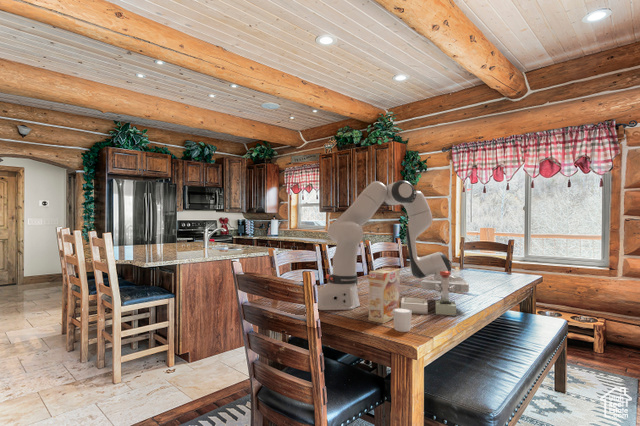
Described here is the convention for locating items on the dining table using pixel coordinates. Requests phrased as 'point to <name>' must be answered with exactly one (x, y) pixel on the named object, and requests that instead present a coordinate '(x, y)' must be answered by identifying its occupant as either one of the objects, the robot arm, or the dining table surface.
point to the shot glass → (402, 319)
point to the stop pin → (445, 286)
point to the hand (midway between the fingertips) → (445, 289)
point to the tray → (415, 305)
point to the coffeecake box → (383, 294)
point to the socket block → (445, 308)
